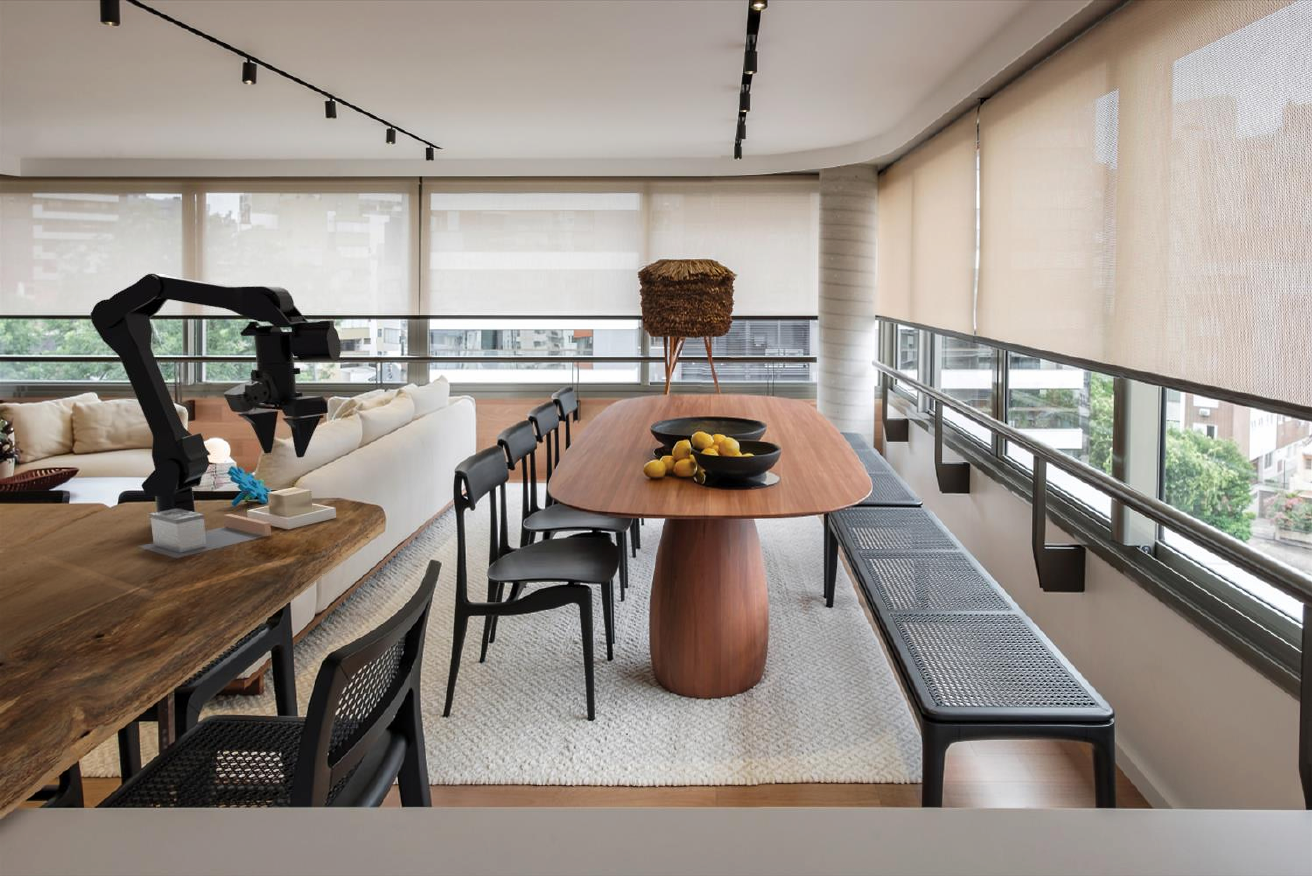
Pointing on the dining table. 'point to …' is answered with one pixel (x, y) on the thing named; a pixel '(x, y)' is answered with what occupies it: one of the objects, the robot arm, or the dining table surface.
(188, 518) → the grey square block
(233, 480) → the blue toy piece
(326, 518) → the tray
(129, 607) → the dining table surface
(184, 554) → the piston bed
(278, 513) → the block
